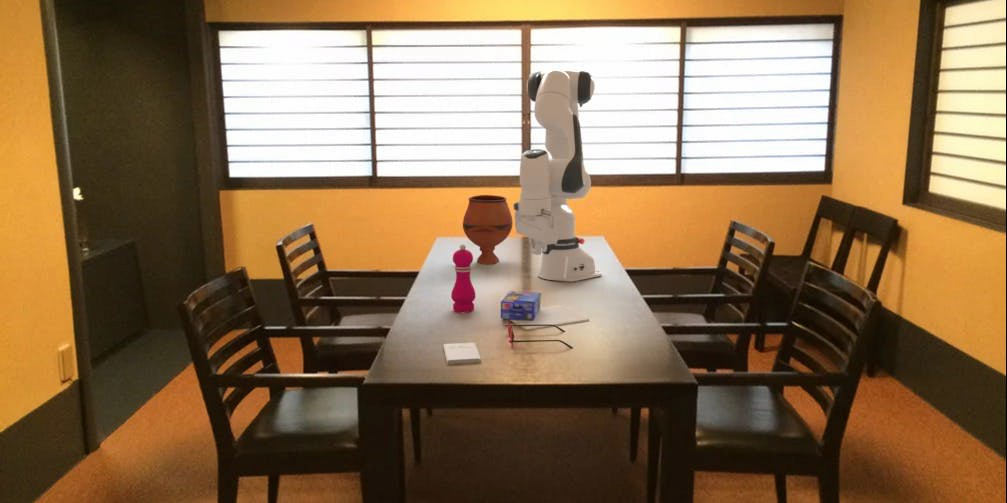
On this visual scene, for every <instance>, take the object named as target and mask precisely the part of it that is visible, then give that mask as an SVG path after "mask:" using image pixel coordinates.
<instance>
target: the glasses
mask: <svg viewBox="0 0 1007 503" xmlns="http://www.w3.org/2000/svg"><path fill="white" fill-rule="evenodd" d="M521 326H551V327H554V328H556V329H558V331H560V332H562V333H566V331H565V330H564V329H563V328H561V327H559V326H555V325H551V324H545V325H517V324H512V321H511V320H509V319H508V322H507V324H504V327H505V328H507V334H508V335H507V336H508V338H510V340H508V344H509V343H510V345H511V349H513V348H514V343H533V342H534V343H535V342H536V343H537V342H539V343H542V342H560V343H562V344H563V345H564V346H566V347H568V348H569V349H574V347H573V346H571V345H570V344H569V343H567V342H565V341H563V340H561V339H542V340H539V339H534V340H531V339H530V340H527V339H526V340H524V339H523V340H515V334H514V333H515V332H514V330H513V328H514V327H521Z"/></svg>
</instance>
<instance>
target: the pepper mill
mask: <svg viewBox="0 0 1007 503" xmlns="http://www.w3.org/2000/svg"><path fill="white" fill-rule="evenodd" d="M466 248H467V246H466V245H465V244H463V243H462V244H460V245H459V249H458V250H456V251H455V252H454V253H453V255H452V262H453V263H454V264H455V265H454V271H455V275H456V278H455V283H454V285H453V288H452V289H451V296H450V297H451V299H452V301H453V302H454V303H453V304H452V305H453V306H452V307H453V308H452V310H453V311H454V312H455V313H462V312H464V313H471V312H473V311H474V310H475V304H474V300H475V299H476V291H475V288H474V285H473V284H472V281H471V271H472V270H473V269H472V265H471V264H472V263H473V260H474V256H473V253H472V252H471V251H470V250H468V249H466Z"/></svg>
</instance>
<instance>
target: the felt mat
mask: <svg viewBox="0 0 1007 503" xmlns="http://www.w3.org/2000/svg"><path fill="white" fill-rule="evenodd" d="M509 320H510V321H511V322H513V323H514V324H515V325H545V324H551V325H555V326H557V327H559V326H562V325H570V324H577V323H584V322H589V321H590V318H588V317H586V316H584V315H582V314H580V313H578V312H576V311H574V310H572V309H570V308H568V307H566V306H564V305H563V304H560V305H553V306H545V307H540V310H539V312H538V313H537V315H536V317H535V319H534V321H530V320H516V319H513V320H512V319H508V321H509ZM551 327H552V326H520V328H522V329H524V330H526V331H531V330H537V329H543V328H544V329H545V328H551Z"/></svg>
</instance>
